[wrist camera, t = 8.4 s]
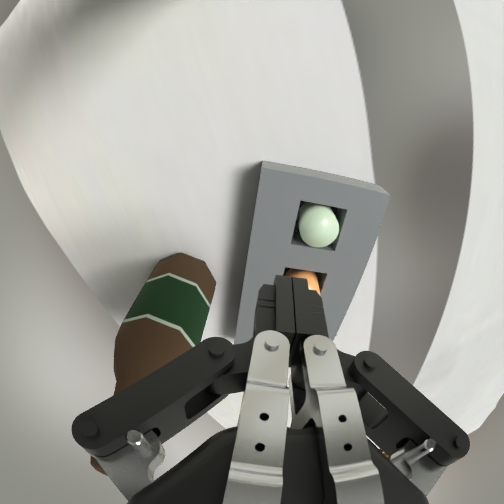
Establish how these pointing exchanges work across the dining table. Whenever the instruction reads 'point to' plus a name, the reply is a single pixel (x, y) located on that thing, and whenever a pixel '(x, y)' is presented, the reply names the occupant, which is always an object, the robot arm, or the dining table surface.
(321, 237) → the sage button
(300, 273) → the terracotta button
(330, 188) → the button panel
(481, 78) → the dining table surface
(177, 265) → the beer bottle
